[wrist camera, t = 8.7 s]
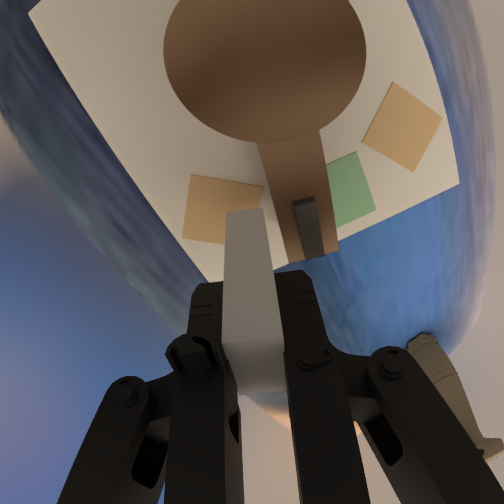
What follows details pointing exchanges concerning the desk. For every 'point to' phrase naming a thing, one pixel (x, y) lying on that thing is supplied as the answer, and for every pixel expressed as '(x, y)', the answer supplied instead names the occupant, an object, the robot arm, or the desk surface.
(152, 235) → the desk surface
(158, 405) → the robot arm
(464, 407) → the handle
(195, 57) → the brown frying pan
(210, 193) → the board
